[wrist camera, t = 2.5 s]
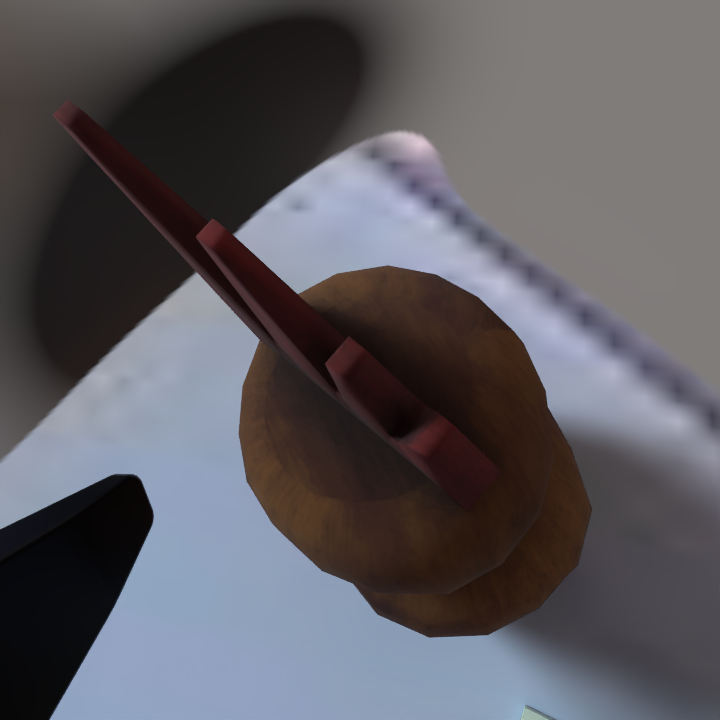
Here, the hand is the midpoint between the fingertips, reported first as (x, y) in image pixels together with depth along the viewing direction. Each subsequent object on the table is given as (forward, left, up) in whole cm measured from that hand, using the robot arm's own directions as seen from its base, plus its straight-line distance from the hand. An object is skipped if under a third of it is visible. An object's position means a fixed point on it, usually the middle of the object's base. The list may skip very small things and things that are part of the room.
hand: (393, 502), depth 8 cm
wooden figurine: (+1, 0, -9) cm, 9 cm away
